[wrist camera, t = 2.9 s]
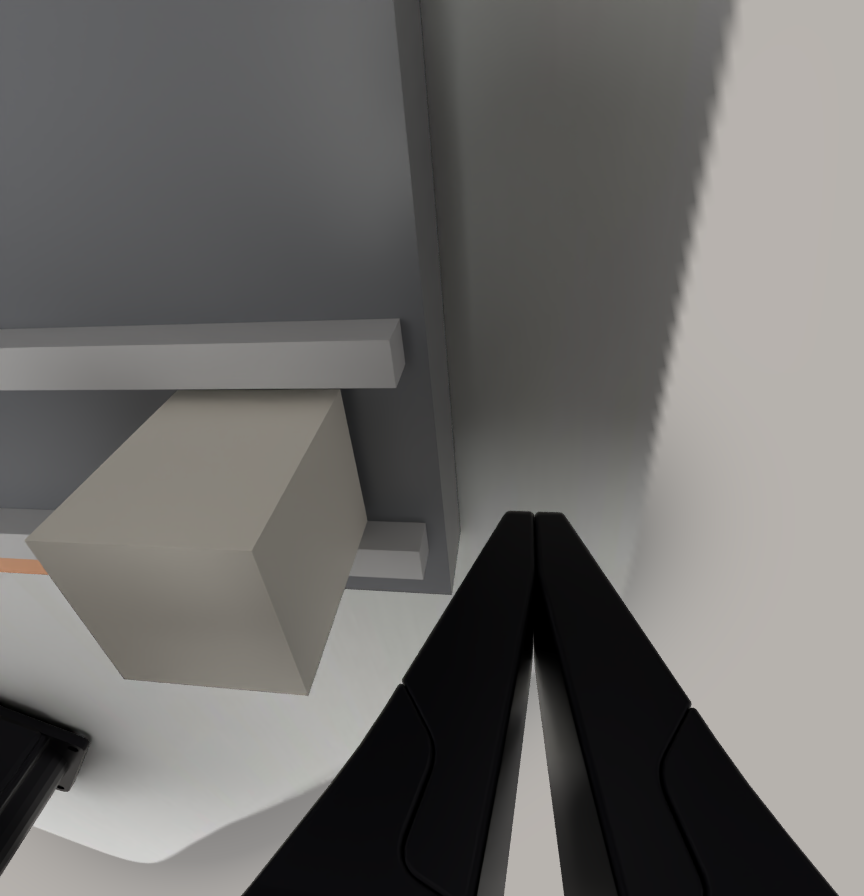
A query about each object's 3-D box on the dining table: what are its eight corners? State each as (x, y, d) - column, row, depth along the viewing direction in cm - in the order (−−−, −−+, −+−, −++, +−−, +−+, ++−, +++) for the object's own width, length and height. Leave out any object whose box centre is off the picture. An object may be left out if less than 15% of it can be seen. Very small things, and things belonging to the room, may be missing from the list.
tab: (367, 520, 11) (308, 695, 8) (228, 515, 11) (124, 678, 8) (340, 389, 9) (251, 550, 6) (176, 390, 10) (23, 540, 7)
